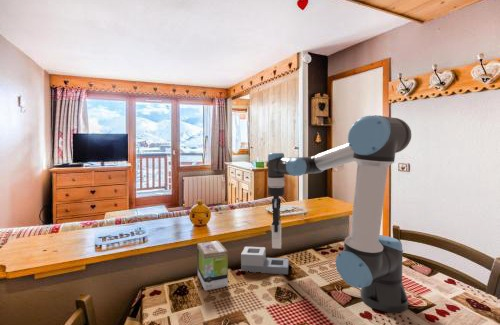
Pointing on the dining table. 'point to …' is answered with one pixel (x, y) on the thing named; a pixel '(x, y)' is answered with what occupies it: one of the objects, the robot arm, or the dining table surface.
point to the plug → (276, 242)
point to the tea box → (212, 265)
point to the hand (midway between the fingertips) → (276, 237)
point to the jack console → (262, 261)
